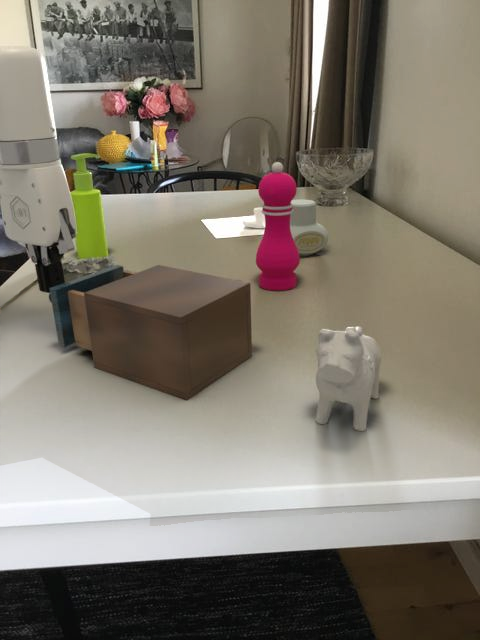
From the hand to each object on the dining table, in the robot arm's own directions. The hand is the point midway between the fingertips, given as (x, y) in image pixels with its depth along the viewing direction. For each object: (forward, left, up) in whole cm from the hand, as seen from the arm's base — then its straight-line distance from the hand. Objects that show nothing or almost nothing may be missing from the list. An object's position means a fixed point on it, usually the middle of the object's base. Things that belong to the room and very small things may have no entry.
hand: (52, 289), depth 79 cm
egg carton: (-3, +20, -6) cm, 21 cm away
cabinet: (+19, -11, -5) cm, 23 cm away
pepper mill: (+31, +18, -6) cm, 36 cm away
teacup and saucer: (+23, +62, -6) cm, 66 cm away
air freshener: (+35, +38, -6) cm, 52 cm away
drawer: (+10, -6, -4) cm, 13 cm away
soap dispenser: (-6, +35, -6) cm, 36 cm away
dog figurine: (+39, -22, -6) cm, 45 cm away
